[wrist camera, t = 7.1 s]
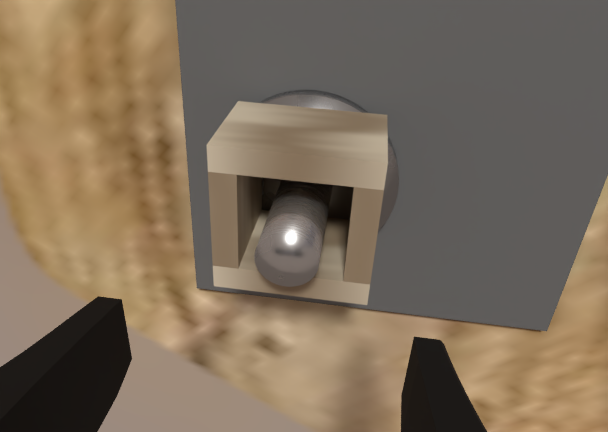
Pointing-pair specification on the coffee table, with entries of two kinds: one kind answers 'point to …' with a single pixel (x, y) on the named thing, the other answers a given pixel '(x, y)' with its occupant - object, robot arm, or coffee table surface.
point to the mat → (430, 134)
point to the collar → (306, 168)
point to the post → (308, 205)
